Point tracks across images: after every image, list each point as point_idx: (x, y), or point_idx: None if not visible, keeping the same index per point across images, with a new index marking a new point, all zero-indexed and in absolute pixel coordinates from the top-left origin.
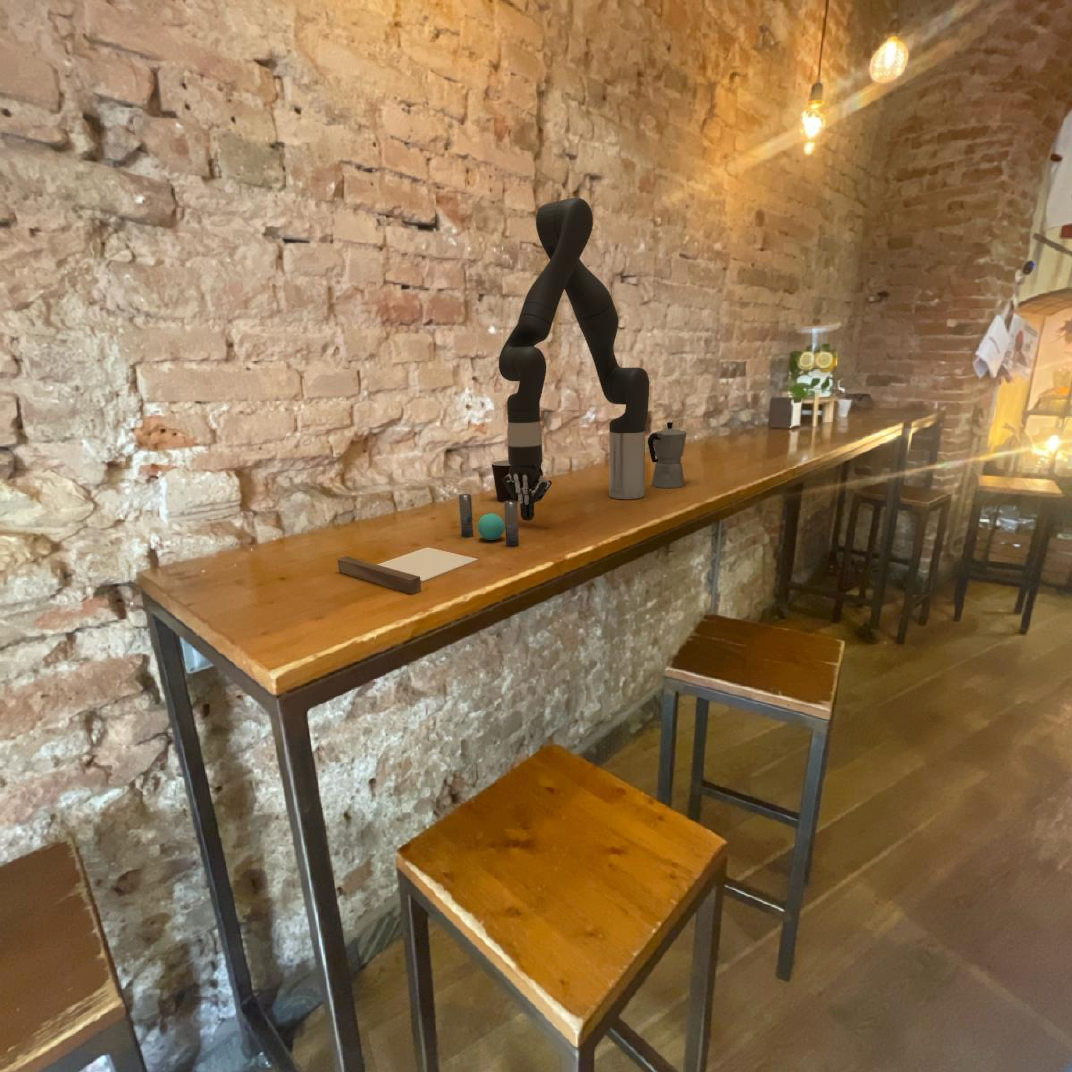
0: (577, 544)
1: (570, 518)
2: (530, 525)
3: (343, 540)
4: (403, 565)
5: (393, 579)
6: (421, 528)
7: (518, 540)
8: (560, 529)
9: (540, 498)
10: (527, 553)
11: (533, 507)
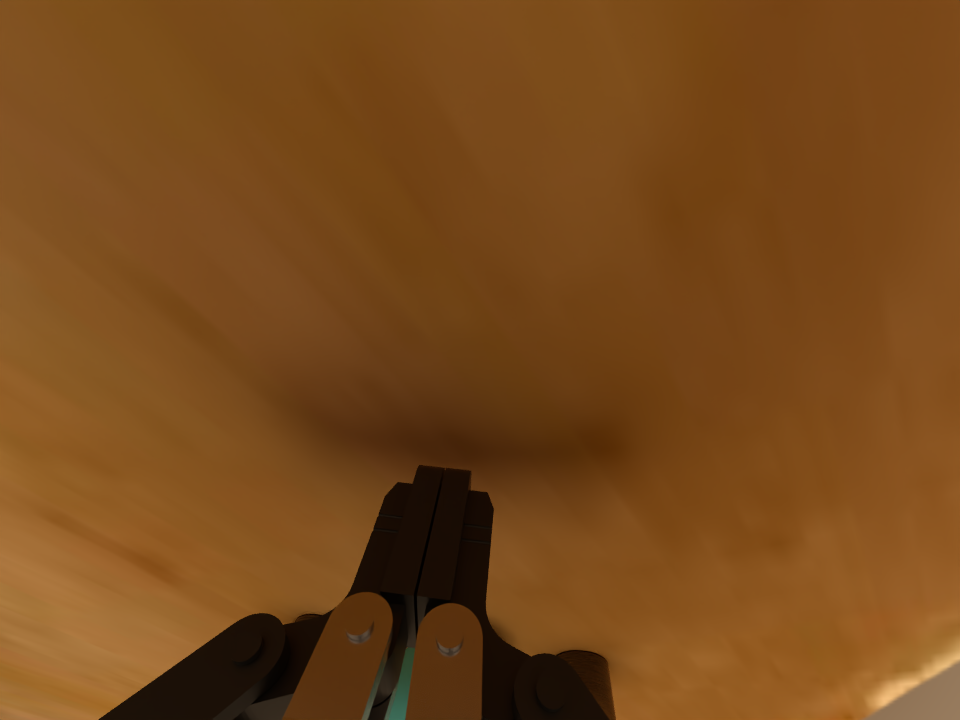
0: (916, 612)
1: (708, 41)
2: (458, 431)
3: (84, 705)
4: None
5: None
6: (81, 606)
7: (610, 687)
8: (725, 437)
9: (586, 717)
10: (690, 704)
11: (486, 581)
